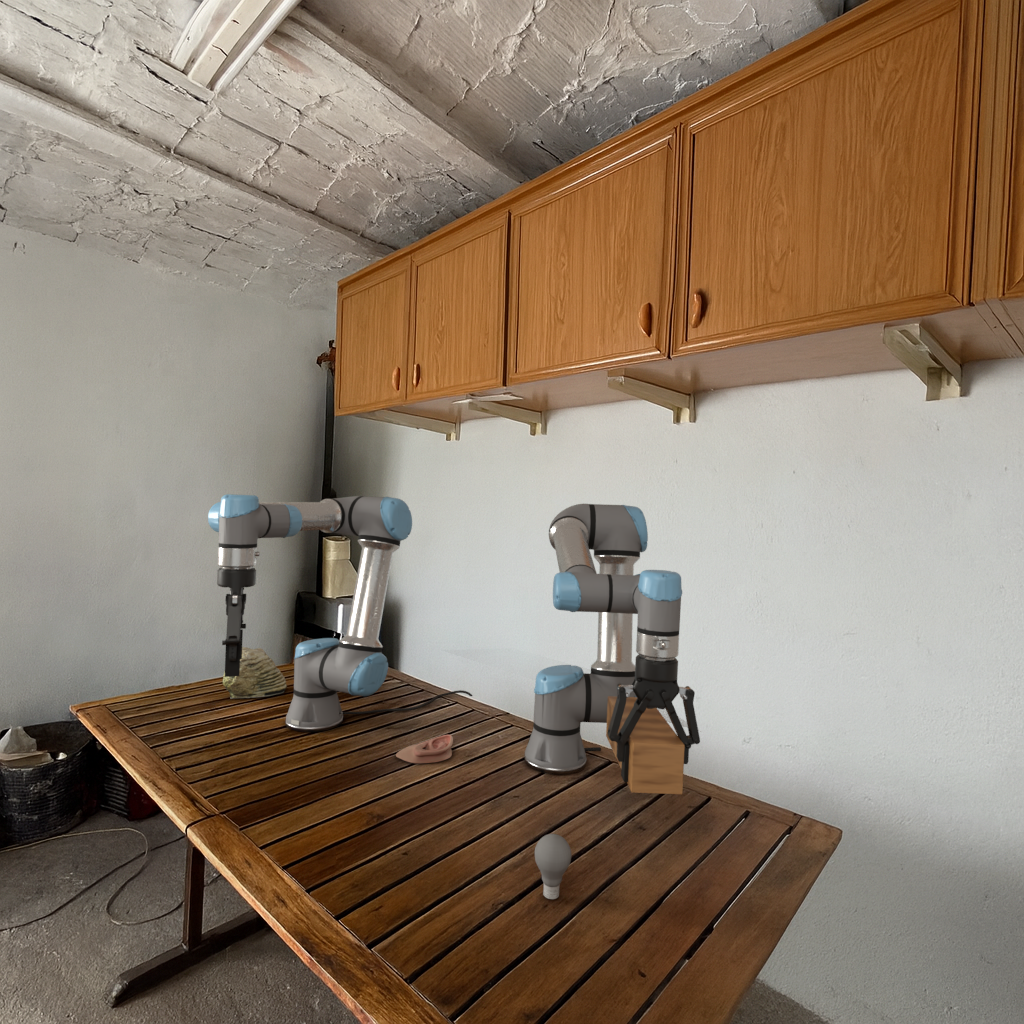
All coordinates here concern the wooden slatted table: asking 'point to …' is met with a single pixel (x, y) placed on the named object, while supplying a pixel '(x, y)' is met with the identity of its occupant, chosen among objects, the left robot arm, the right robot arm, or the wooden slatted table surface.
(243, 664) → the fossil
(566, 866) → the light bulb
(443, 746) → the anatomical model
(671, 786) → the box
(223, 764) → the wooden slatted table surface
